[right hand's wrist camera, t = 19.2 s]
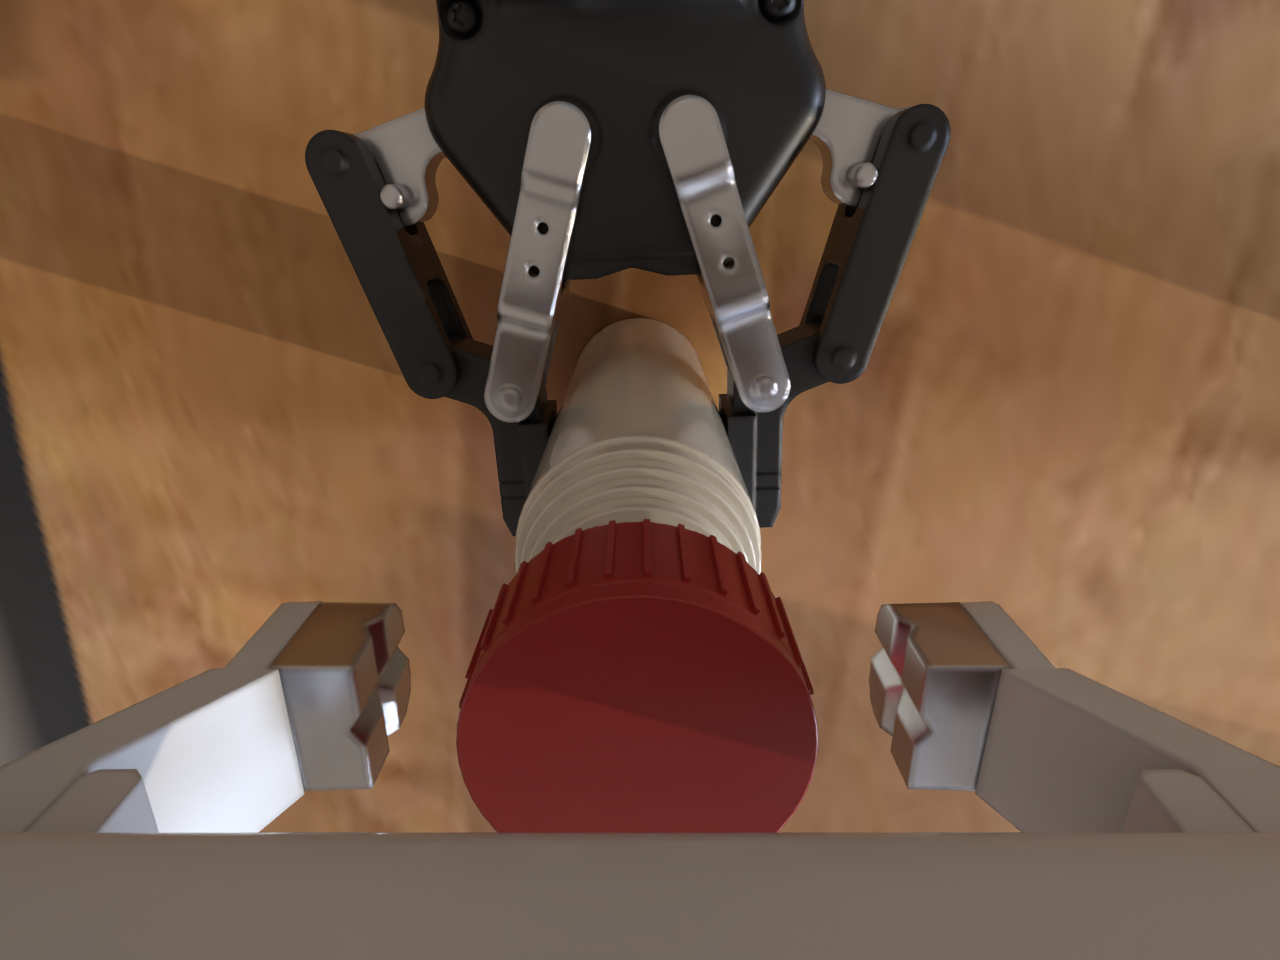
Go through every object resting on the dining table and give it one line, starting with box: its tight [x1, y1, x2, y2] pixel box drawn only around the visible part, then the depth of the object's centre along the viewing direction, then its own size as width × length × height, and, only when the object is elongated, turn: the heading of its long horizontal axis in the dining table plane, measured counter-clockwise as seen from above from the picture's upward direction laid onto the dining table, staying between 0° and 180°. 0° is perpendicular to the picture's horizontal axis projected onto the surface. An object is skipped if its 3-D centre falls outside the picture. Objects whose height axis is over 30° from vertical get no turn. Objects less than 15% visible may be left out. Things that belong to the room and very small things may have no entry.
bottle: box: [515, 318, 761, 574], centre depth 17 cm, size 4×4×17 cm
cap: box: [456, 519, 818, 833], centre depth 9 cm, size 4×4×2 cm
